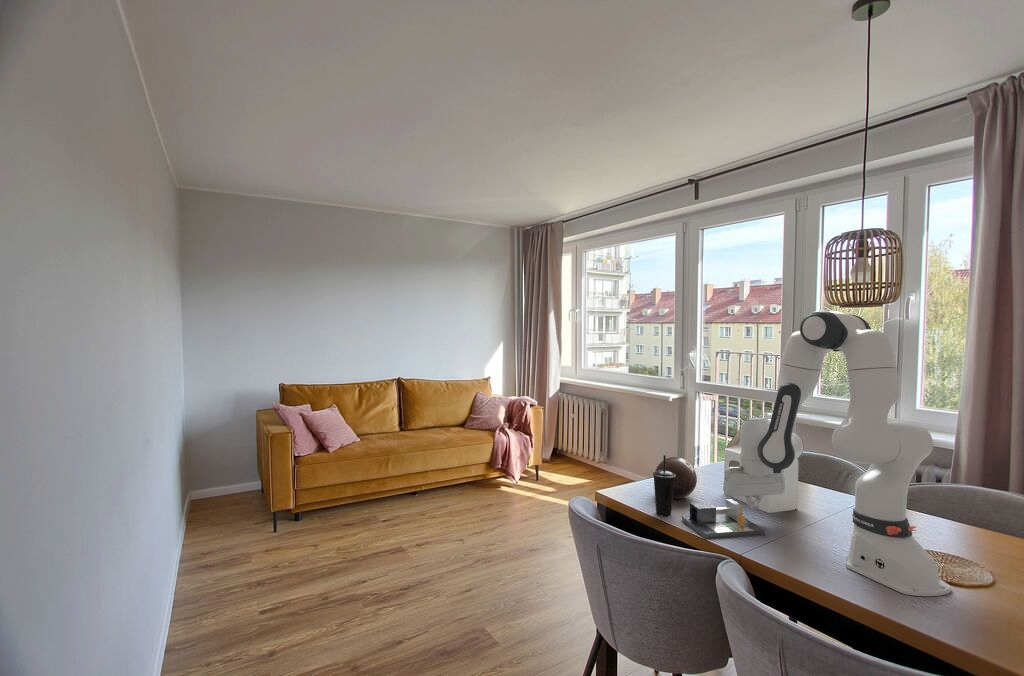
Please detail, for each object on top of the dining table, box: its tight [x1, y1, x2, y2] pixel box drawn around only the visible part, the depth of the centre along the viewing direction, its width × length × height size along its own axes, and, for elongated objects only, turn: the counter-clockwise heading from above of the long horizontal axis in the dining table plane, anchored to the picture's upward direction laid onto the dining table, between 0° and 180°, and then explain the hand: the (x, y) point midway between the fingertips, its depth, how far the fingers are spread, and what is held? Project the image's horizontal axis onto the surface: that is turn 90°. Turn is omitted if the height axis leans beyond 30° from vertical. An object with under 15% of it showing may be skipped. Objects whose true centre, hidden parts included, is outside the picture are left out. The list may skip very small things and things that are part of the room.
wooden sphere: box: [655, 456, 698, 500], centre depth 188 cm, size 15×15×15 cm
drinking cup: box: [652, 454, 676, 517], centre depth 171 cm, size 8×8×20 cm
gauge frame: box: [681, 501, 766, 540], centre depth 160 cm, size 14×20×6 cm
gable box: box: [723, 424, 799, 514], centre depth 185 cm, size 22×13×28 cm, turn 18°
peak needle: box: [737, 504, 746, 525], centre depth 158 cm, size 2×1×6 cm, turn 9°
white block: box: [716, 498, 747, 523], centre depth 162 cm, size 9×10×5 cm
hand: (753, 508), depth 165 cm, fingers closed
